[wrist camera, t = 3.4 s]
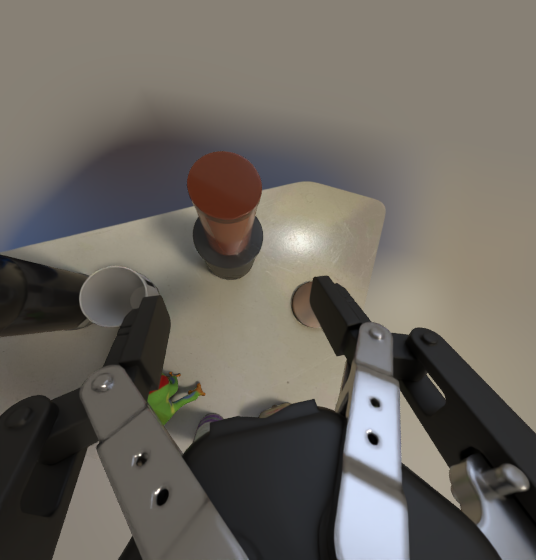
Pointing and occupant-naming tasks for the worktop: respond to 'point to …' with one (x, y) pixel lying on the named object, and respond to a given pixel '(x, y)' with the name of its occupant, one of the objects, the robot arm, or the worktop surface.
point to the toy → (166, 390)
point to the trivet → (304, 306)
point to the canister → (225, 199)
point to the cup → (113, 294)
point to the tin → (228, 264)
